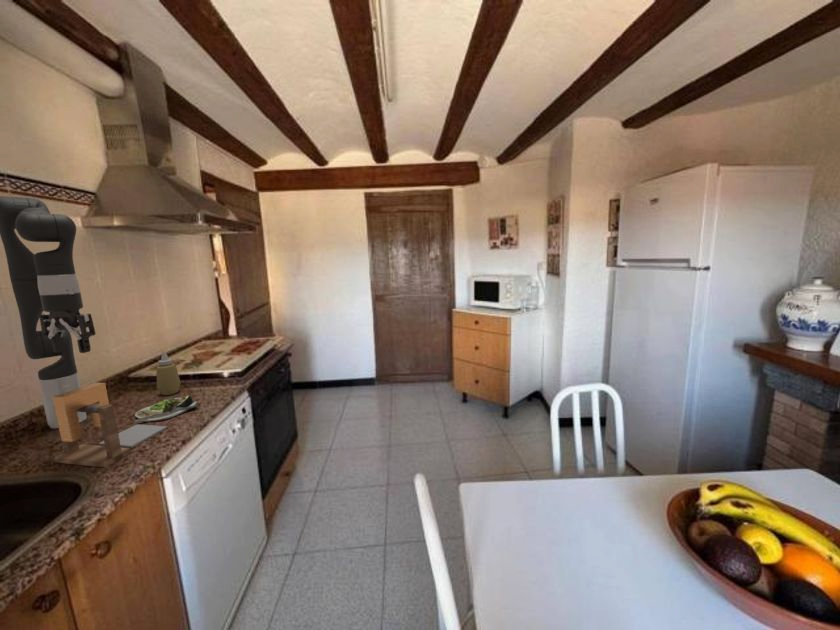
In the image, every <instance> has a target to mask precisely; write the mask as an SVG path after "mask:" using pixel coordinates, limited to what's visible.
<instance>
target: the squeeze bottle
mask: <svg viewBox="0 0 840 630" xmlns="http://www.w3.org/2000/svg"><path fill="white" fill-rule="evenodd" d="M160 358H161V359H160V360H158V361H157V362H158V365H157V367H156V370H155V371H156V388H157V389H158V391H159V393H160V395H162V396H170V395H173V394H174V395H175V394H176V393H177V394H178V393H179V391H180V387H181V380H180V375H179V372H178V369H177V365H176V363H173V359H172V358H169V357H168V354H167V352H166V351H162V352H161V357H160Z"/></svg>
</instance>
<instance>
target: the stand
mask: <svg viewBox="0 0 840 630" xmlns="http://www.w3.org/2000/svg"><path fill="white" fill-rule="evenodd" d="M54 409H55V407H54ZM77 412H86V413H89V414H90V413H91V414H92V413H99V418H100V423H101V427H100V428H101V432H102V438H103V441H104V443H105V445H99V444H98V445H94V444H84V443H83V444H80V445H79V441H78V440H79V439H78V440H75V441H73V442H68V441H62V439H61V438H60V440H61V445H62V449H63V453H61V454H58V455H57V456H55V457H54V462H55V463H57V462H58V464H59V463H60V464H69V465H76V466H77V465H79V466H80V465H81V466H88V467H89V466H90V467H98V468H107V467H109V466H111V465H113V464H115V463H116V462H118V461H119V460H121V459H122V458H125V457H126V456H128V455H130V454H131V453H132V452H131V448H129V447H121V445H120V440H119V435H118V433H119V431H118V425H117V419H116V415H115V408H114V405H113V404H110V403H109V404H107V405H104V406H98V405H88V406H85V407H83V408H80V409H77ZM55 413H56V412H55ZM56 418H57V416H56ZM57 423H58V421H57ZM58 427H59V425H58ZM58 432H59V435H60V436H59V437H61V434H60V430H59V429H58ZM110 464H111V465H110Z"/></svg>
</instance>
